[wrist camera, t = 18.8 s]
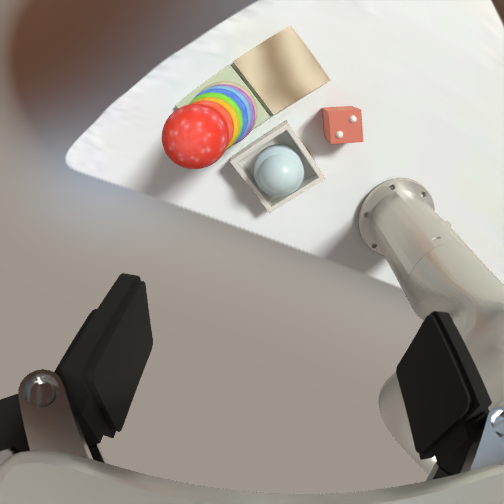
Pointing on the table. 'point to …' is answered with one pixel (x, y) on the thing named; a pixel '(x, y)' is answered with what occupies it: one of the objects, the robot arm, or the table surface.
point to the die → (342, 124)
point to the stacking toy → (209, 125)
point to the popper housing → (277, 135)
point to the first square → (281, 70)
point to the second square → (229, 76)
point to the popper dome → (278, 170)
